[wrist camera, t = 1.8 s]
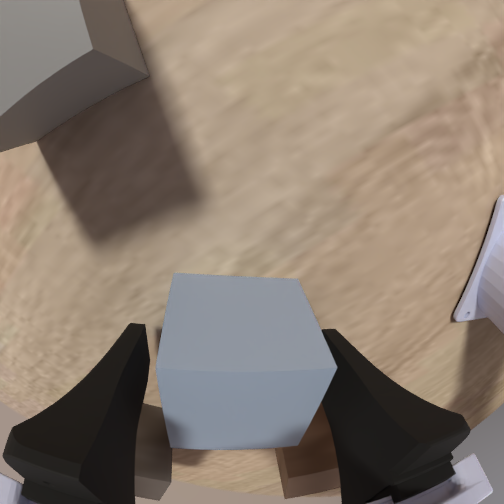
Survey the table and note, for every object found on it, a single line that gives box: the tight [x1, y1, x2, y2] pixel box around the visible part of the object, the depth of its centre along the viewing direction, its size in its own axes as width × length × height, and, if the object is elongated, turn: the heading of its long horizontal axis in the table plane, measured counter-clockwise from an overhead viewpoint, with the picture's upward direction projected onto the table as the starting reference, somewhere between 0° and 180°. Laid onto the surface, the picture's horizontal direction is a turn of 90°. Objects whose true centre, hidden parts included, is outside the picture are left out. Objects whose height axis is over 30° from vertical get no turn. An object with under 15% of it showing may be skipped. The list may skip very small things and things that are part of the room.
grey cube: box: [0, 0, 150, 152], centre depth 5 cm, size 5×5×5 cm
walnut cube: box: [275, 403, 341, 499], centre depth 16 cm, size 5×5×5 cm
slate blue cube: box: [156, 273, 337, 450], centre depth 11 cm, size 5×5×5 cm
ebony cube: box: [135, 403, 172, 500], centre depth 14 cm, size 5×5×5 cm
